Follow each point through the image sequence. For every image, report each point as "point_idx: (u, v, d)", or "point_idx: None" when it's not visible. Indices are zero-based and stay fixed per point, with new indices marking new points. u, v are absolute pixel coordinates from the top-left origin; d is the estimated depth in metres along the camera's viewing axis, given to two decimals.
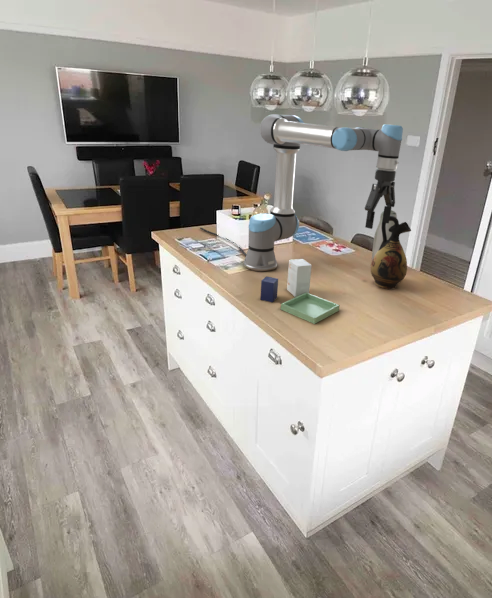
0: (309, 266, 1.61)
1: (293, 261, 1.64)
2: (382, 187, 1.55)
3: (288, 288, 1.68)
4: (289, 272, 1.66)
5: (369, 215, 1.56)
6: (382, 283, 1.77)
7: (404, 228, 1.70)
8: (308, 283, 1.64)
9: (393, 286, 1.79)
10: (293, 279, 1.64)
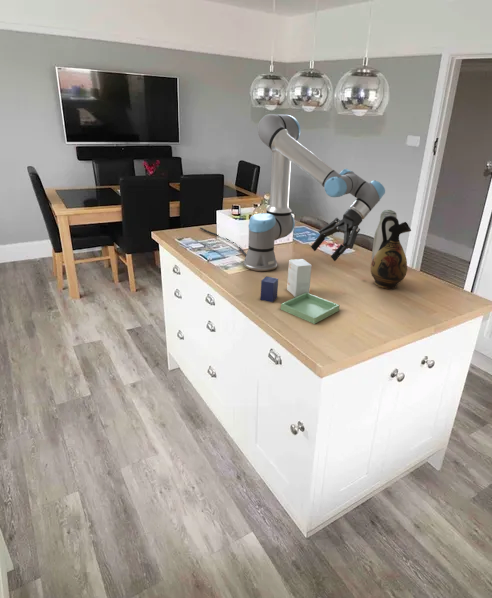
0: (309, 266, 1.61)
1: (293, 261, 1.64)
2: None
3: (288, 288, 1.68)
4: (289, 272, 1.66)
5: (343, 250, 1.62)
6: (382, 283, 1.77)
7: (404, 228, 1.70)
8: (308, 283, 1.64)
9: (393, 286, 1.79)
10: (293, 279, 1.64)
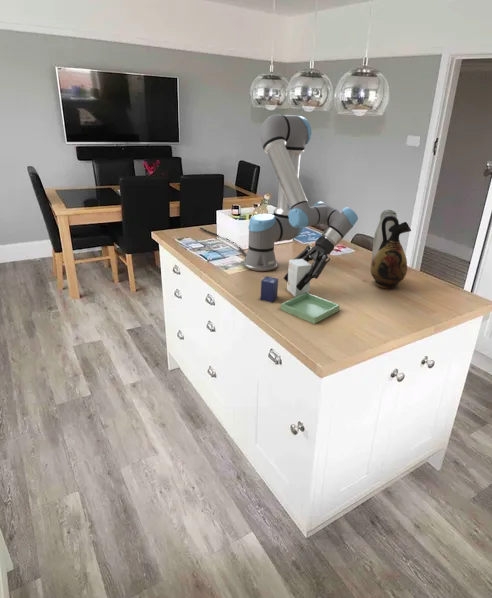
0: (309, 266, 1.61)
1: (293, 261, 1.64)
2: None
3: (288, 288, 1.68)
4: (289, 272, 1.66)
5: (309, 280, 1.61)
6: (382, 283, 1.77)
7: (404, 228, 1.70)
8: (308, 283, 1.64)
9: (393, 286, 1.79)
10: (293, 279, 1.64)
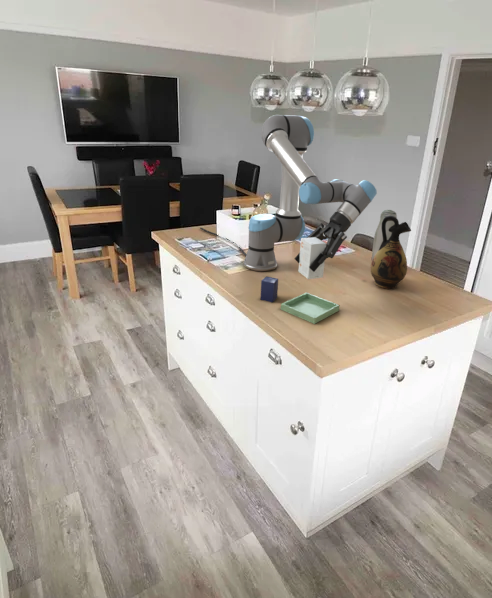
0: (324, 244, 1.45)
1: (306, 239, 1.48)
2: None
3: (300, 270, 1.52)
4: (301, 252, 1.50)
5: (323, 260, 1.45)
6: (382, 283, 1.77)
7: (404, 228, 1.70)
8: (322, 263, 1.48)
9: (393, 286, 1.79)
10: (305, 260, 1.48)
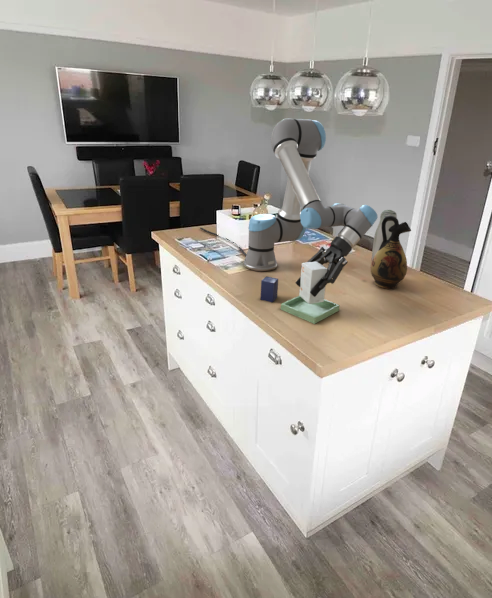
0: (324, 270, 1.45)
1: (306, 264, 1.48)
2: None
3: (301, 294, 1.53)
4: (302, 276, 1.50)
5: (324, 285, 1.45)
6: (382, 283, 1.77)
7: (404, 228, 1.70)
8: (323, 288, 1.48)
9: (393, 286, 1.79)
10: (306, 284, 1.48)
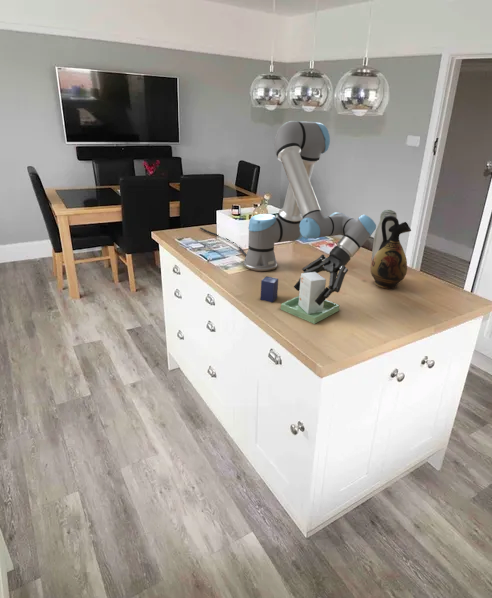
0: (323, 280, 1.47)
1: (305, 275, 1.50)
2: None
3: (300, 304, 1.55)
4: (301, 287, 1.52)
5: (329, 294, 1.45)
6: (382, 283, 1.77)
7: (404, 228, 1.70)
8: None
9: (393, 286, 1.79)
10: (305, 295, 1.50)
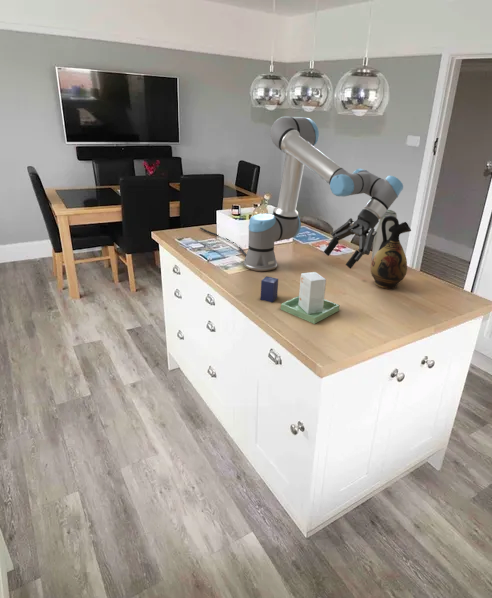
0: (323, 280, 1.47)
1: (305, 275, 1.50)
2: None
3: (300, 304, 1.55)
4: (301, 287, 1.52)
5: (359, 257, 1.49)
6: (382, 283, 1.77)
7: (404, 228, 1.70)
8: (321, 298, 1.50)
9: (393, 286, 1.79)
10: (305, 295, 1.50)
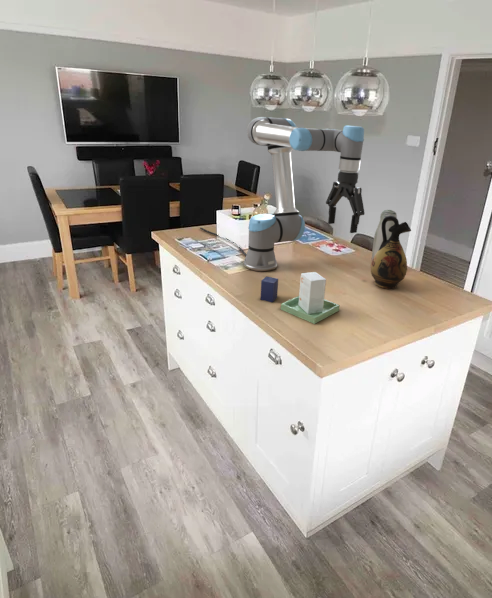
0: (323, 280, 1.47)
1: (305, 275, 1.50)
2: None
3: (300, 304, 1.55)
4: (301, 287, 1.52)
5: (358, 220, 1.54)
6: (382, 283, 1.77)
7: (404, 228, 1.70)
8: (321, 298, 1.50)
9: (393, 286, 1.79)
10: (305, 295, 1.50)
